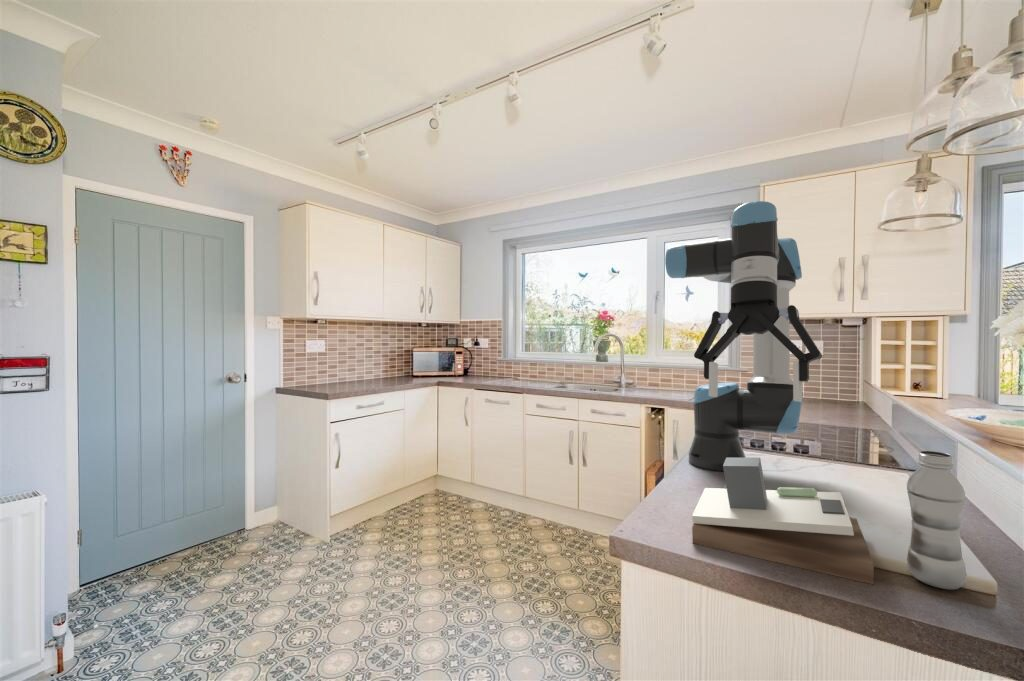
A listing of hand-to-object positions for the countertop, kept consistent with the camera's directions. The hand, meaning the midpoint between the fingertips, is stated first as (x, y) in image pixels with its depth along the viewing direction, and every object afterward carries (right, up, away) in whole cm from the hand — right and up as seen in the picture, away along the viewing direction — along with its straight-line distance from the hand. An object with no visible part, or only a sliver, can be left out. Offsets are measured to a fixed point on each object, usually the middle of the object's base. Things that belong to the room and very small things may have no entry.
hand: (752, 399), depth 77 cm
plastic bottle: (+22, -27, -11) cm, 36 cm away
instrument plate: (+5, -22, +4) cm, 23 cm away
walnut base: (+6, -27, +3) cm, 28 cm away
